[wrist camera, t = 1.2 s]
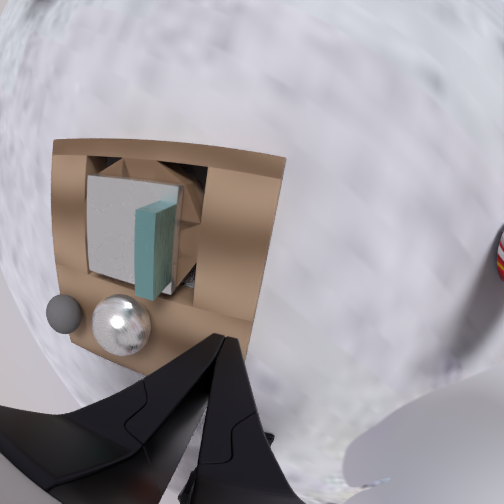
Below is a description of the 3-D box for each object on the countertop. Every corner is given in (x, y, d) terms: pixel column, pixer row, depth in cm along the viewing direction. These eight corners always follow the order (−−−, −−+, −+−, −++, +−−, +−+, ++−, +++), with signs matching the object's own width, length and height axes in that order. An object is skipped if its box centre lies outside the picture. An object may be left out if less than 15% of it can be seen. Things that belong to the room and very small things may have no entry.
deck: (240, 383, 24) (234, 402, 22) (83, 329, 25) (71, 342, 23) (286, 157, 17) (285, 157, 14) (73, 138, 18) (53, 139, 16)
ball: (161, 339, 20) (136, 376, 16) (115, 323, 21) (85, 354, 16) (160, 292, 19) (129, 326, 14) (110, 277, 19) (74, 304, 15)
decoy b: (91, 326, 21) (69, 347, 18) (65, 314, 22) (44, 332, 18) (86, 294, 20) (61, 313, 17) (60, 283, 20) (35, 300, 17)
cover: (175, 289, 18) (153, 315, 15) (95, 266, 18) (67, 284, 15) (183, 185, 15) (157, 193, 12) (94, 174, 16) (61, 180, 13)
